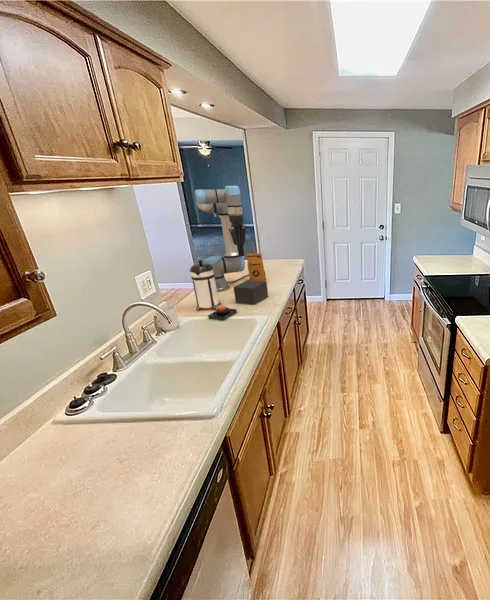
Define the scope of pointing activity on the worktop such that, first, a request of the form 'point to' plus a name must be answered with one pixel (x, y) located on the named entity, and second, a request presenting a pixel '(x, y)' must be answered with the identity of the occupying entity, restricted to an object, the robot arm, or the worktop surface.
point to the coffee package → (256, 267)
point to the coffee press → (204, 285)
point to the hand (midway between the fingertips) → (241, 255)
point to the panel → (222, 314)
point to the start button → (221, 308)
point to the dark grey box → (250, 292)
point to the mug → (173, 316)
